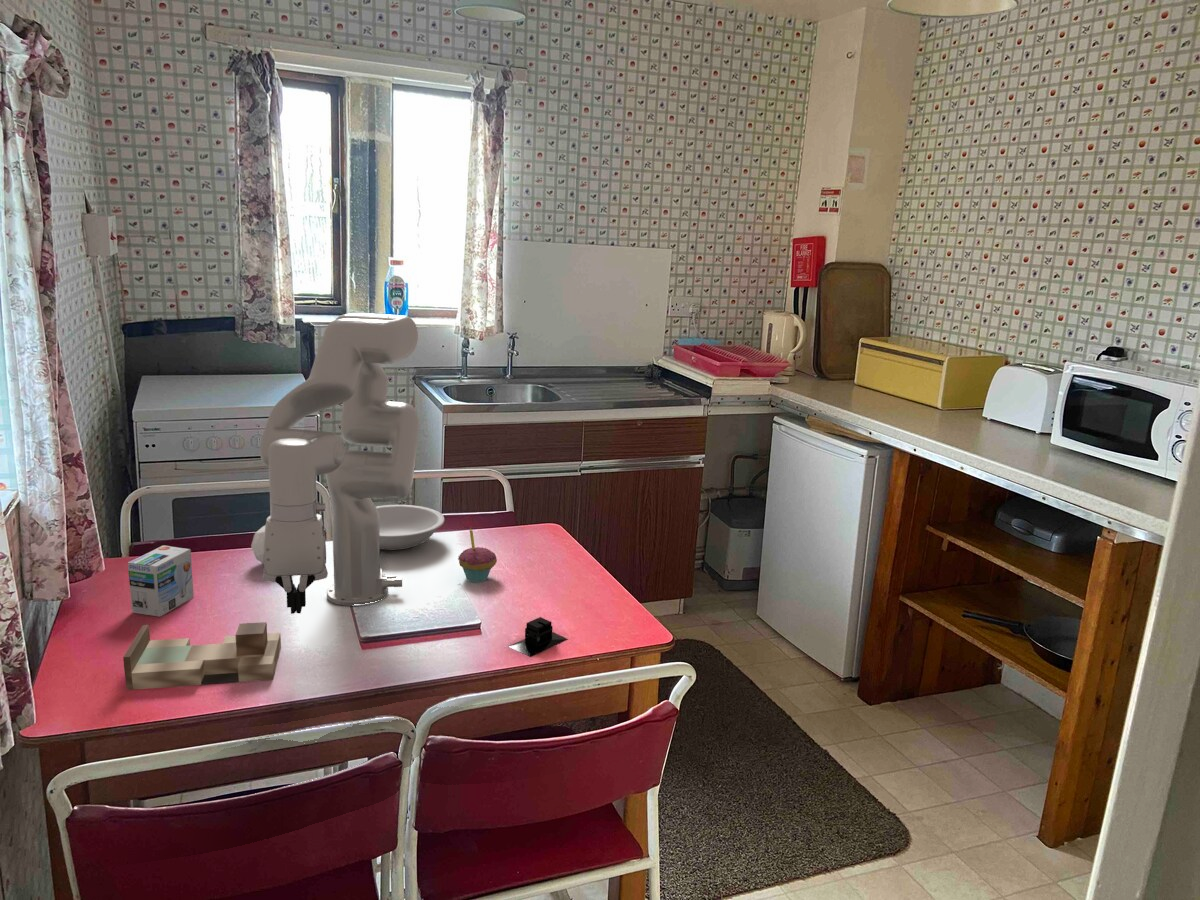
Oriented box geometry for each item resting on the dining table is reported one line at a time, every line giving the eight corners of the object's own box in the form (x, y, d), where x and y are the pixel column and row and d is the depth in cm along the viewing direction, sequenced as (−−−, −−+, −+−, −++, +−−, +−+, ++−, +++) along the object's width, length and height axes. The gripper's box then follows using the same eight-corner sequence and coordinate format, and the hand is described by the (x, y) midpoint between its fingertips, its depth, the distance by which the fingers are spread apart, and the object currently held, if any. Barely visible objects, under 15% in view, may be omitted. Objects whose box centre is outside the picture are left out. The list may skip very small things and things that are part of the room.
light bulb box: (160, 618, 171) (156, 566, 168) (130, 613, 172) (125, 562, 169) (195, 596, 181) (192, 547, 178) (167, 592, 182) (162, 544, 180)
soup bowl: (417, 522, 232) (416, 499, 230) (462, 550, 214) (462, 524, 212) (329, 539, 217) (328, 513, 215) (370, 569, 199) (369, 542, 197)
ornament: (252, 574, 193) (252, 554, 206) (301, 569, 196) (298, 550, 210) (249, 531, 191) (250, 514, 204) (299, 527, 194) (296, 511, 208)
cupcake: (451, 581, 195) (451, 530, 192) (470, 568, 202) (471, 519, 199) (484, 588, 192) (485, 537, 189) (503, 575, 199) (504, 525, 196)
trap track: (281, 647, 161) (279, 617, 160) (272, 679, 150) (271, 647, 148) (145, 656, 156) (142, 625, 154) (126, 690, 144) (123, 657, 143)
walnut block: (267, 642, 156) (266, 622, 155) (264, 654, 152) (263, 633, 151) (240, 644, 155) (239, 623, 154) (236, 656, 151) (235, 634, 150)
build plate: (527, 663, 161) (528, 639, 159) (498, 649, 165) (499, 626, 164) (575, 640, 170) (576, 618, 169) (547, 628, 175) (547, 605, 174)
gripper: (340, 503, 155) (341, 600, 158) (250, 505, 151) (254, 604, 155) (337, 516, 147) (339, 617, 151) (243, 518, 144) (248, 621, 148)
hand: (296, 610), depth 153 cm, fingers closed
